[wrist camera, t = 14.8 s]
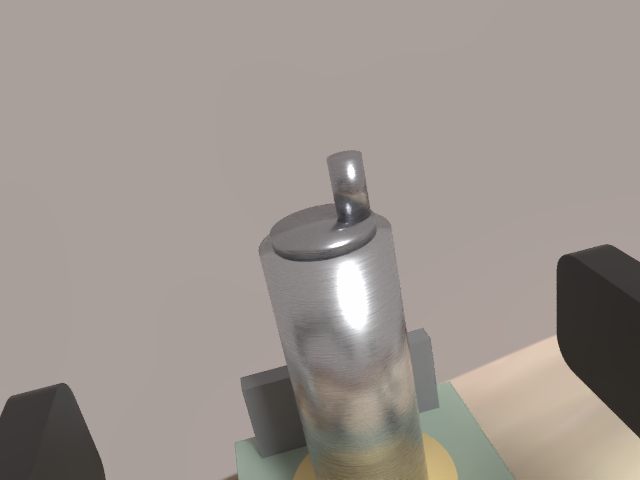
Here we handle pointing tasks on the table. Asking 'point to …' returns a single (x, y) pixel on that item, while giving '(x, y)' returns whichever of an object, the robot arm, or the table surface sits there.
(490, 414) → the table surface
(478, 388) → the table surface
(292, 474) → the green and yellow block
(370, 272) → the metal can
